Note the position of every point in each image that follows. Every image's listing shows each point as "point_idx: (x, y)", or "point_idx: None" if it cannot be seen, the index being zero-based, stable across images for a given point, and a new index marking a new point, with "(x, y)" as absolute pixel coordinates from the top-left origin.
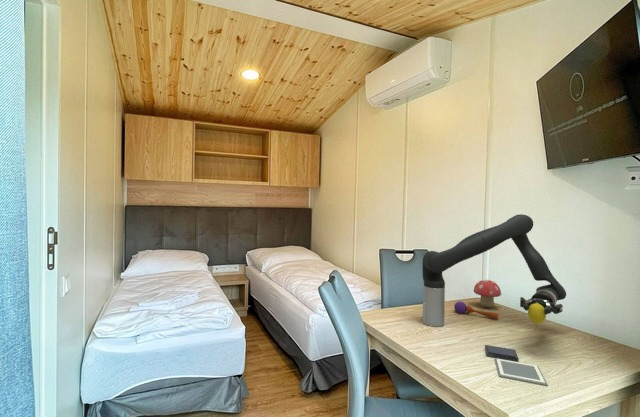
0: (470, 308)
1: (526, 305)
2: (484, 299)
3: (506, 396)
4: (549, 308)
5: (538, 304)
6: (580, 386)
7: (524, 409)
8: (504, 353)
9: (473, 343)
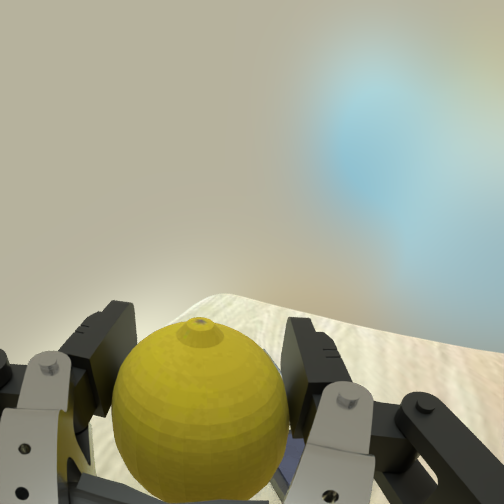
0: None
1: (293, 318)
2: None
3: (231, 312)
4: (72, 345)
5: (182, 326)
6: None
7: (202, 300)
8: (303, 439)
9: (429, 470)
